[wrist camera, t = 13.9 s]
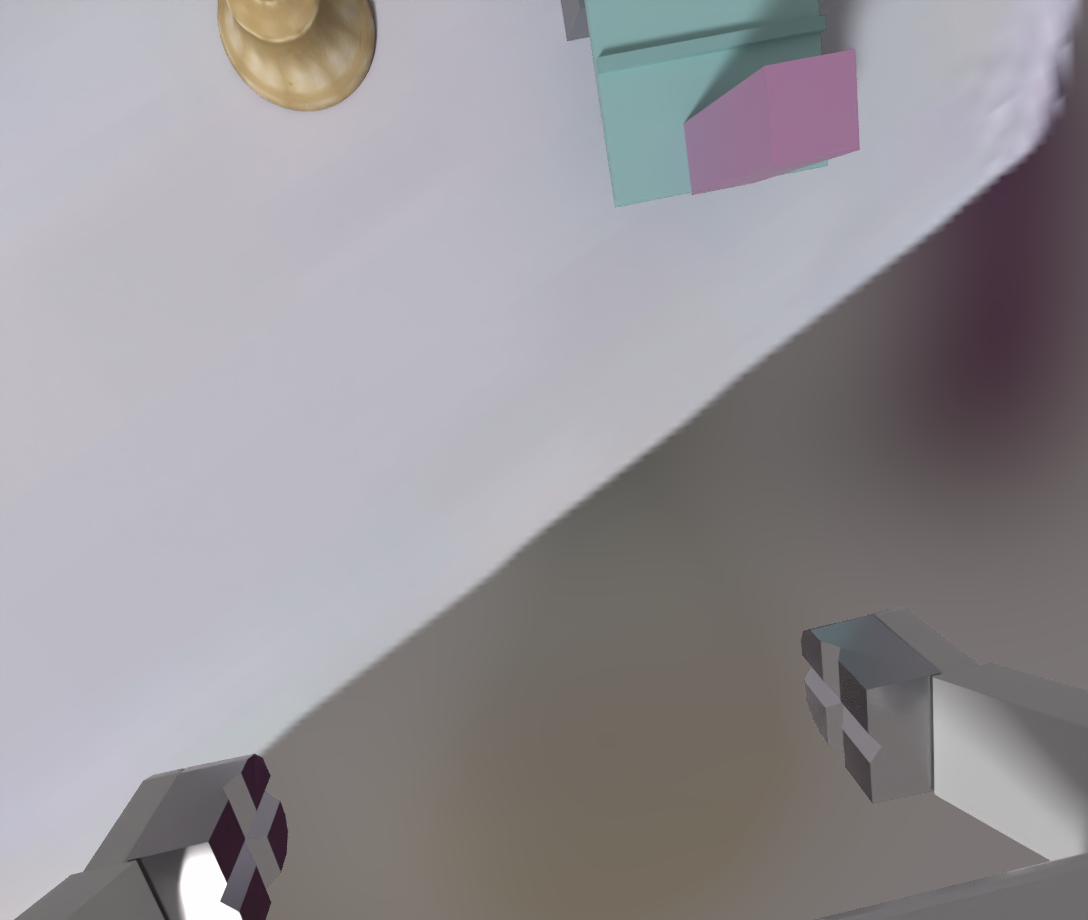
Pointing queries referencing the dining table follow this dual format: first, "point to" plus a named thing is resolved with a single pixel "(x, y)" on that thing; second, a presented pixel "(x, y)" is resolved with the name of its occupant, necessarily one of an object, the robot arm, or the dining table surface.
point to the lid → (717, 93)
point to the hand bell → (299, 48)
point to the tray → (575, 19)
